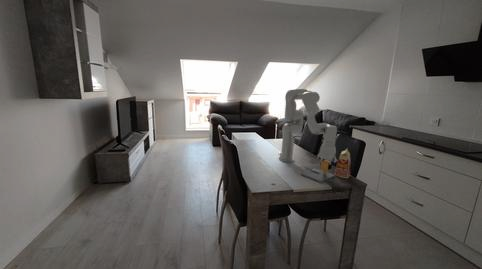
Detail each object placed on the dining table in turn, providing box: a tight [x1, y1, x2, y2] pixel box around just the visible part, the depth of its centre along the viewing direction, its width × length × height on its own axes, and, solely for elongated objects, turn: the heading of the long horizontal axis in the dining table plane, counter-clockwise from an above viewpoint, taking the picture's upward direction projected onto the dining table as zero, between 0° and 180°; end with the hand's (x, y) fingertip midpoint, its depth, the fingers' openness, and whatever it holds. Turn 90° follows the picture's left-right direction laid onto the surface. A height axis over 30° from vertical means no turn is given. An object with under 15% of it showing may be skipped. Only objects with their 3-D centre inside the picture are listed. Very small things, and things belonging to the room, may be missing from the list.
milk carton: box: [333, 148, 351, 179], centre depth 164 cm, size 9×9×20 cm
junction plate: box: [300, 167, 336, 184], centre depth 162 cm, size 16×18×6 cm
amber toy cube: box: [320, 159, 332, 172], centre depth 160 cm, size 5×5×6 cm
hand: (325, 167), depth 160 cm, fingers closed on amber toy cube, 5 cm apart
